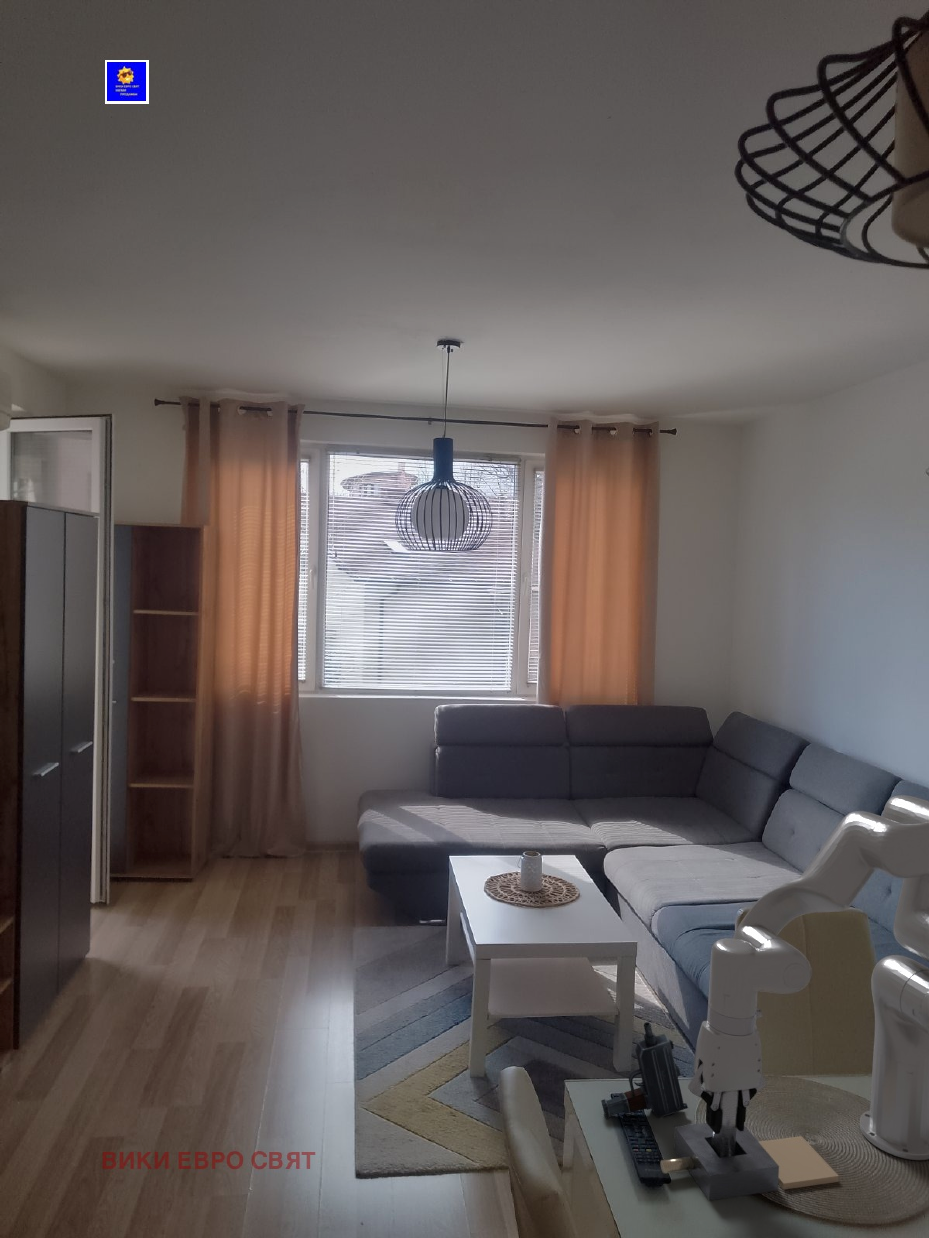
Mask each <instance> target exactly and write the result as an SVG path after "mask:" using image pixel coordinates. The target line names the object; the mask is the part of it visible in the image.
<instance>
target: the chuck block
mask: <svg viewBox="0 0 929 1238" xmlns="http://www.w3.org/2000/svg"><path fill="white" fill-rule="evenodd" d="M673 1141H674V1142H673V1151H674V1152H675V1154H676V1155H677V1156H678V1157H677V1158H670V1159H661V1160H660V1163H659V1164H660V1169H661V1172H662V1173H663V1174H671V1173H677V1172H685V1171H688V1173H690V1175H691V1176H692V1178H693V1179H694V1181H695V1182H696V1184H697V1185H698V1186H699V1188H700V1189H701V1191H702V1192H703V1193H704V1195H705V1197H706V1198H707V1199H708V1201H714V1200H720V1199H721V1200H722V1199H728V1198H735V1197H742V1196H750V1195H755V1194H762V1193H770V1192H776V1191H779V1190H778V1189H779V1184H778V1177H779V1166H778V1164H777V1163H776V1162H775V1161H774V1160H773V1159H772V1157H771V1156H770V1155H769V1154H768V1153H767V1151H766V1150H765V1149H764V1148H763V1147H762V1146H761V1144H760V1143H759V1141H758V1140H757V1139H756V1137H755V1136H754V1135H753V1134H752V1132H751V1131H750V1130H749V1129H748V1128H747V1127H746V1125H744V1131H739V1130H738V1129H737V1128H736V1145H735V1156H730V1157H722V1158H721V1157H719V1156H717V1154H716V1153H715V1152H714V1150H713V1149H712V1143H713V1130H712V1129H711V1128H710V1126H709V1125H708V1124H707V1122H704V1123H697V1124H695V1123H694V1124H688V1125H687V1124H686V1125H680V1126H679V1125H678V1126H674V1139H673Z"/></svg>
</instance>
